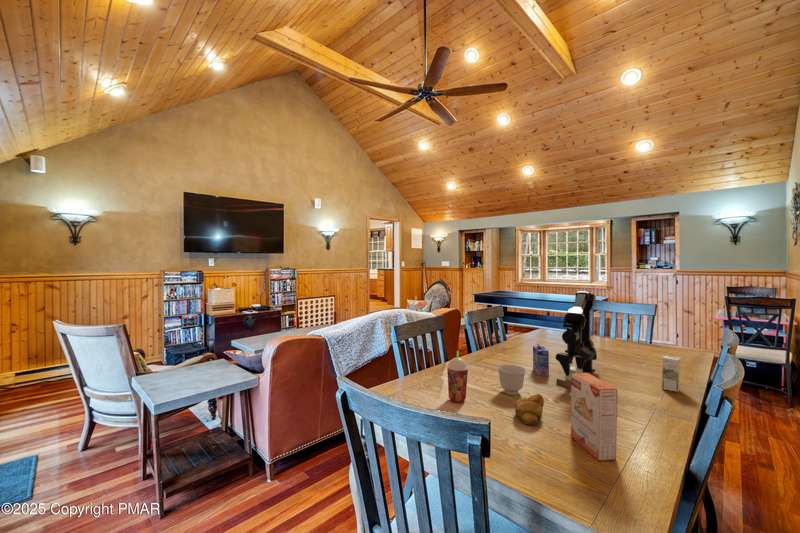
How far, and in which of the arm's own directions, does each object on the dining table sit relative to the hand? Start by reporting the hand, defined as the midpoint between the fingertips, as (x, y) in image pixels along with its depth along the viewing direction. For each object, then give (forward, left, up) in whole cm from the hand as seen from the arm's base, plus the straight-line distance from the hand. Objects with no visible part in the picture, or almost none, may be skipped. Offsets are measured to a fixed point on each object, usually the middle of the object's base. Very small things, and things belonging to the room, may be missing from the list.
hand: (573, 374), depth 161 cm
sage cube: (0, 0, -2) cm, 3 cm away
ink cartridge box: (-2, -19, -5) cm, 20 cm away
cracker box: (+45, +35, -5) cm, 57 cm away
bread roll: (+46, +12, -5) cm, 47 cm away
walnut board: (0, 0, -6) cm, 6 cm away
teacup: (+30, -9, -5) cm, 32 cm away
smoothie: (+57, -13, -5) cm, 59 cm away
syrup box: (-32, +25, -5) cm, 41 cm away
